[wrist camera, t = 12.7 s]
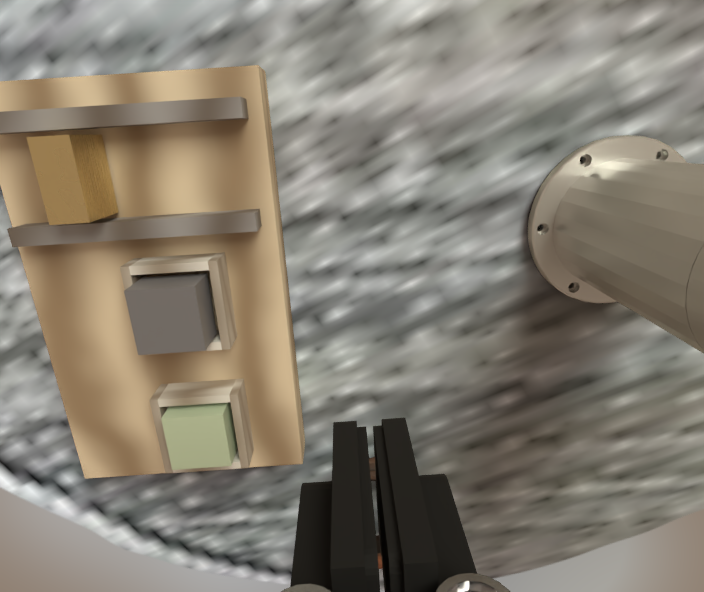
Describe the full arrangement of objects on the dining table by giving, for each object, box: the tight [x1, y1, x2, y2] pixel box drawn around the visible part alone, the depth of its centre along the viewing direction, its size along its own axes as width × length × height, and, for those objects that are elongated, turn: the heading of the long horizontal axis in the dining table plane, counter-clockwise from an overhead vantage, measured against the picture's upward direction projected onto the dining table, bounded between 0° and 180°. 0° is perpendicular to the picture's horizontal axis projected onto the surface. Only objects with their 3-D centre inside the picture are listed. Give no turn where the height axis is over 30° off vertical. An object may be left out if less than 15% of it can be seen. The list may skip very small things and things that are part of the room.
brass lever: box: [26, 135, 119, 225], centre depth 30 cm, size 2×5×4 cm, turn 4°
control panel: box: [0, 65, 305, 478], centre depth 35 cm, size 18×30×5 cm, turn 3°
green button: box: [161, 402, 238, 470], centre depth 36 cm, size 4×4×3 cm
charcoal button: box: [124, 273, 217, 355], centre depth 32 cm, size 4×4×3 cm
